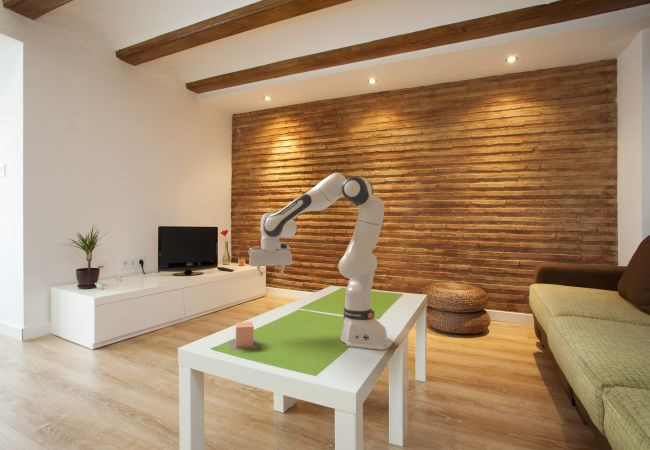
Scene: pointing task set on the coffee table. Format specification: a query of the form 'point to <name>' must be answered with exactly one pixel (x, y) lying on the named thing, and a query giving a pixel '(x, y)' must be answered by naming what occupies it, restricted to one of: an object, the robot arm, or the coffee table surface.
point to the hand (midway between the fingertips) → (271, 275)
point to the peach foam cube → (244, 334)
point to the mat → (233, 347)
